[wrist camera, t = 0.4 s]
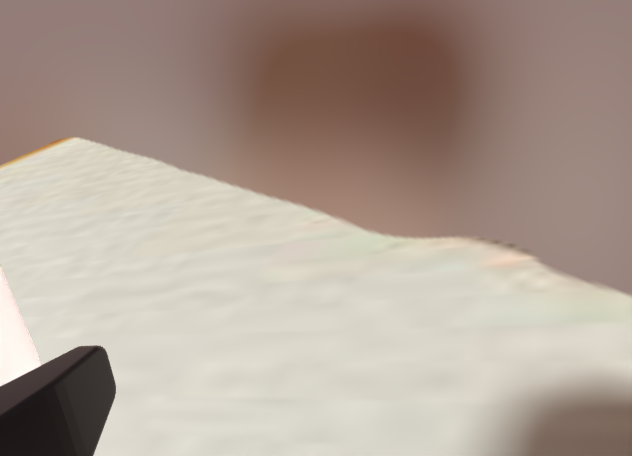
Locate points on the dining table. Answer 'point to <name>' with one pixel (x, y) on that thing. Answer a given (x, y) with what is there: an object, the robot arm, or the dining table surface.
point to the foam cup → (14, 338)
